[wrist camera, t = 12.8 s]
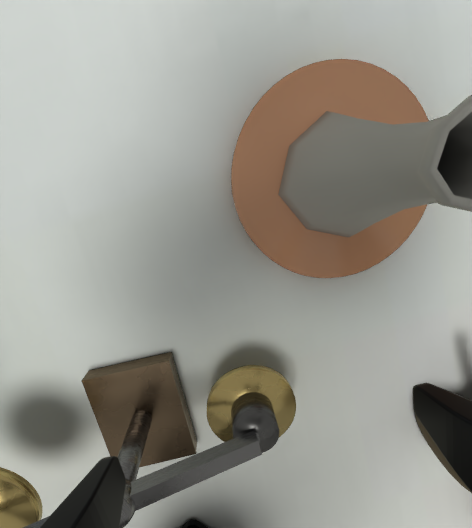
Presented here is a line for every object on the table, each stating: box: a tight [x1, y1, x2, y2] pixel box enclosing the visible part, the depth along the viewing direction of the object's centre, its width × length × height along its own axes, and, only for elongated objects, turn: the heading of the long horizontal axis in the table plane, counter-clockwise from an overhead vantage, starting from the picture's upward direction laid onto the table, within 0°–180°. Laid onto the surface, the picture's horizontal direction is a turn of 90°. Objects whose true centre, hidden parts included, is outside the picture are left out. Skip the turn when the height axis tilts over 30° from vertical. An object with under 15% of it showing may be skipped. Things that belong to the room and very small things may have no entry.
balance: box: [0, 352, 296, 528], centre depth 17 cm, size 22×8×9 cm, turn 101°
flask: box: [278, 95, 472, 237], centre depth 13 cm, size 7×7×10 cm
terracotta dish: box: [231, 59, 429, 278], centre depth 18 cm, size 13×13×1 cm
